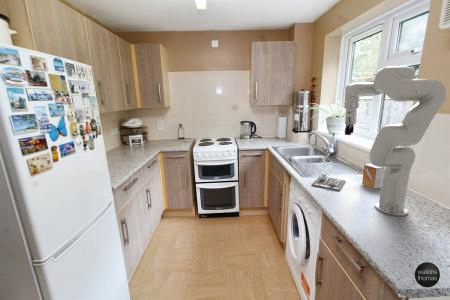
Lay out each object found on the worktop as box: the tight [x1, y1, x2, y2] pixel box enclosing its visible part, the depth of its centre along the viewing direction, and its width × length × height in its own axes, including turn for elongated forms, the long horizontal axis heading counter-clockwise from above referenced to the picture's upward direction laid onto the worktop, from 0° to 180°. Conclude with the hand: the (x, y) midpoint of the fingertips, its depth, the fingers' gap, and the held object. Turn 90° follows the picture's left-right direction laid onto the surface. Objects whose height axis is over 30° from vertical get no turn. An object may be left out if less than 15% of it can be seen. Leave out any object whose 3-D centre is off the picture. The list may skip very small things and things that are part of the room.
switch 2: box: [330, 176, 338, 187], centre depth 131 cm, size 3×3×5 cm
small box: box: [362, 163, 385, 190], centre depth 131 cm, size 8×6×13 cm
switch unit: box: [311, 175, 346, 192], centre depth 137 cm, size 18×16×2 cm
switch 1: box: [321, 172, 328, 181], centre depth 140 cm, size 3×3×5 cm
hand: (349, 133), depth 132 cm, fingers open, 9 cm apart
